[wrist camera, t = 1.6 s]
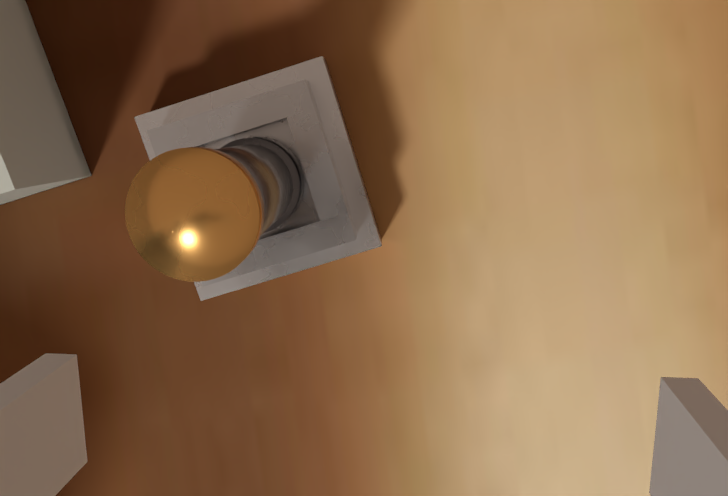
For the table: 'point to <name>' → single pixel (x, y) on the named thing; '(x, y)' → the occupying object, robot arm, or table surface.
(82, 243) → the table surface
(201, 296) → the grey square socket base
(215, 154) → the gold topped grey cylinder
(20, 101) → the bin
